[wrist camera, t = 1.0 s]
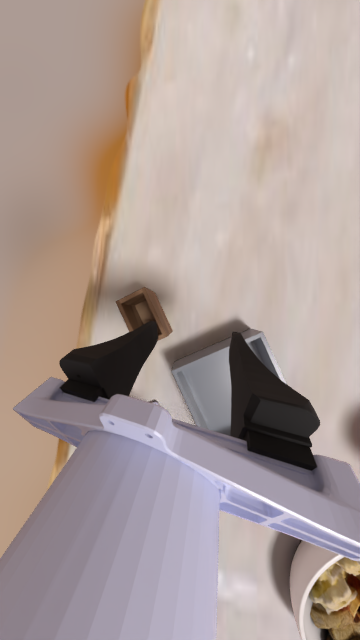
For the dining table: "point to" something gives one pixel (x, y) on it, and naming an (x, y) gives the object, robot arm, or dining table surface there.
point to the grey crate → (217, 380)
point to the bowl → (325, 594)
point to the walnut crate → (144, 311)
